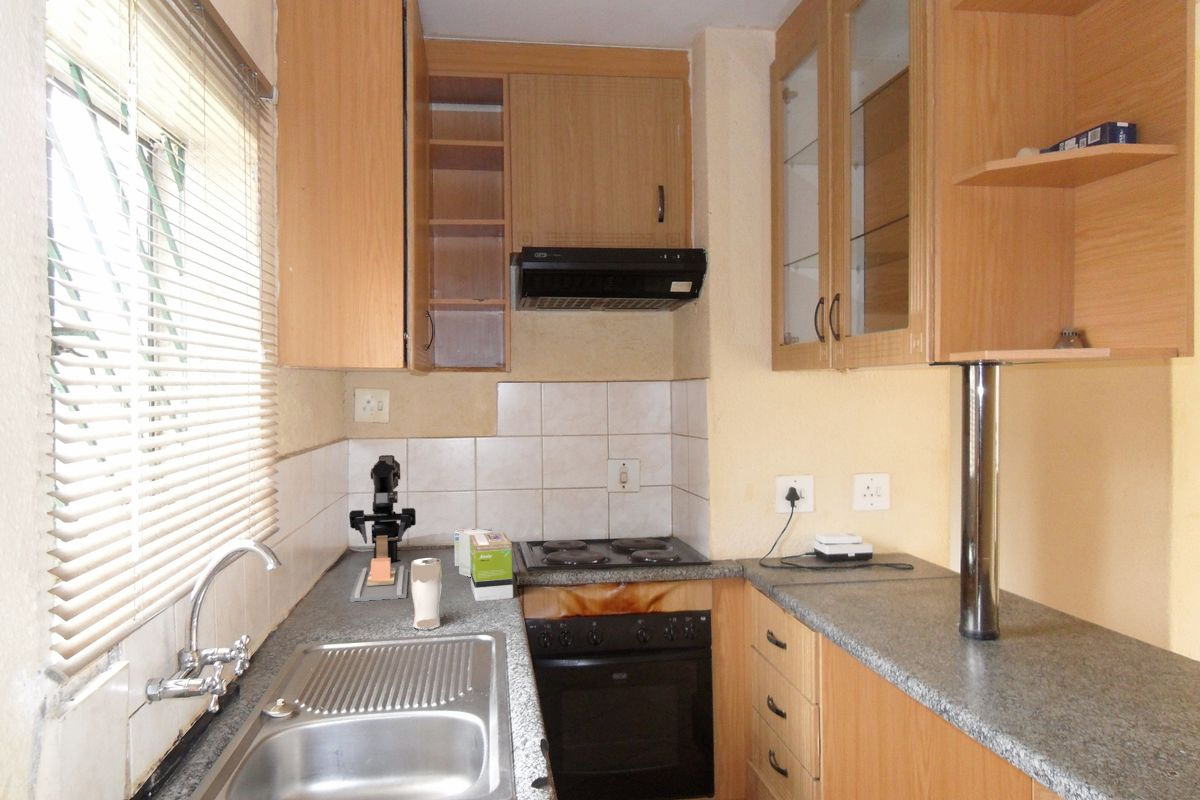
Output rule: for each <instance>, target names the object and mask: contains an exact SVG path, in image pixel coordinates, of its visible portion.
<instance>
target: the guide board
mask: <svg viewBox="0 0 1200 800" xmlns="http://www.w3.org/2000/svg"><path fill="white" fill-rule="evenodd" d="M369 573H370V571H368V567H363V568H362V571H359V572H358V574H357V577H356V580H355V582H354V585H353V587H352V590H351V594H350V597H349V603H355V602H354V601H361V602H370V601H369V600H376V601H383V600H382V599H390V600H399V599H398V598H405V599H407V598H408V597H407V596H408V595H407V594H408V581H409V569H406V568H405V565H399V569H396V573H395V580H394V584H390V585H374V586H367V580H368V577H369ZM406 597H407V598H406Z"/></svg>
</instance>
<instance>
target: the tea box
mask: <svg viewBox="0 0 1200 800" xmlns="http://www.w3.org/2000/svg"><path fill="white" fill-rule="evenodd" d="M513 569H514V568H513V543H512V542H511V540H510V539H509V538H508V536H507V535H506V533H505V532H498V533H497V532H496V533H495V532H494V533H492V534H480V535H470V571H471V578H470V588H471V592H472V594H473V597H474V600H475V602H486V600H490V601H498V600H500V599H501V600H510V599H513V598H514V580H513V579H514V576H513V575H514V574H513V573H514V571H513ZM501 600H500V601H501Z"/></svg>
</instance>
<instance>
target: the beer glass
mask: <svg viewBox="0 0 1200 800" xmlns="http://www.w3.org/2000/svg"><path fill="white" fill-rule="evenodd" d="M441 561H442V560H441V559H440V558H438V557H437V558H435V557H424V558H421V557H420V558H417V559H413V560H411V561H410V563H411V566H410V591H411V595H412V603H413V606H414V618H413V624H412V627H415V628H421V629H422V628H423V629H424V628H425V629H426V628H434V627H438V626H440V627H441V625H440V624H441V619H440V613H439V609H440V600H441V593H442V588H443V587H442V586H443V585H442V584H443V573H442V562H441Z"/></svg>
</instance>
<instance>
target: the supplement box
mask: <svg viewBox="0 0 1200 800" xmlns="http://www.w3.org/2000/svg"><path fill="white" fill-rule="evenodd" d="M475 529H476V530H468V531H461V532H459V566H458V574H459V575H461V576H464V577H467V576H468V578H470V577H471V571H470V535H480V534H493V530H492V531H487V530H482V529H483V528H475Z"/></svg>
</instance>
